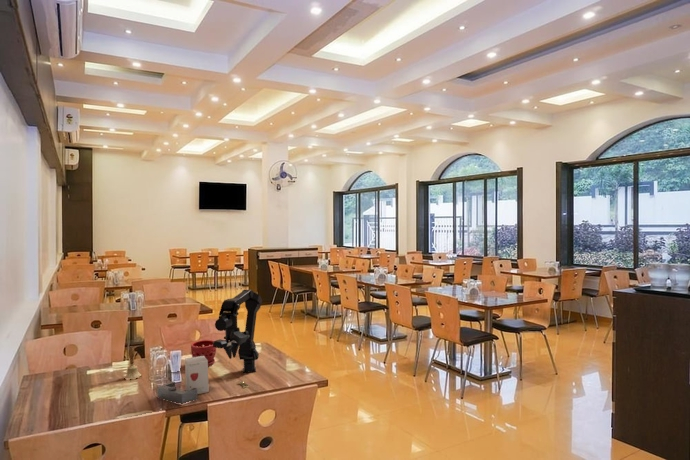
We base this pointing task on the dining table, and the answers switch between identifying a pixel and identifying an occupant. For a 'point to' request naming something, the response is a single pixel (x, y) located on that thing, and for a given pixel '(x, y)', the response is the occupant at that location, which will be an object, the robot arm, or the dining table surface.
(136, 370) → the hand bell
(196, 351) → the plant pot
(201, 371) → the supplement box
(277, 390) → the dining table surface
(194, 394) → the coupler mouth
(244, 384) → the brass key
